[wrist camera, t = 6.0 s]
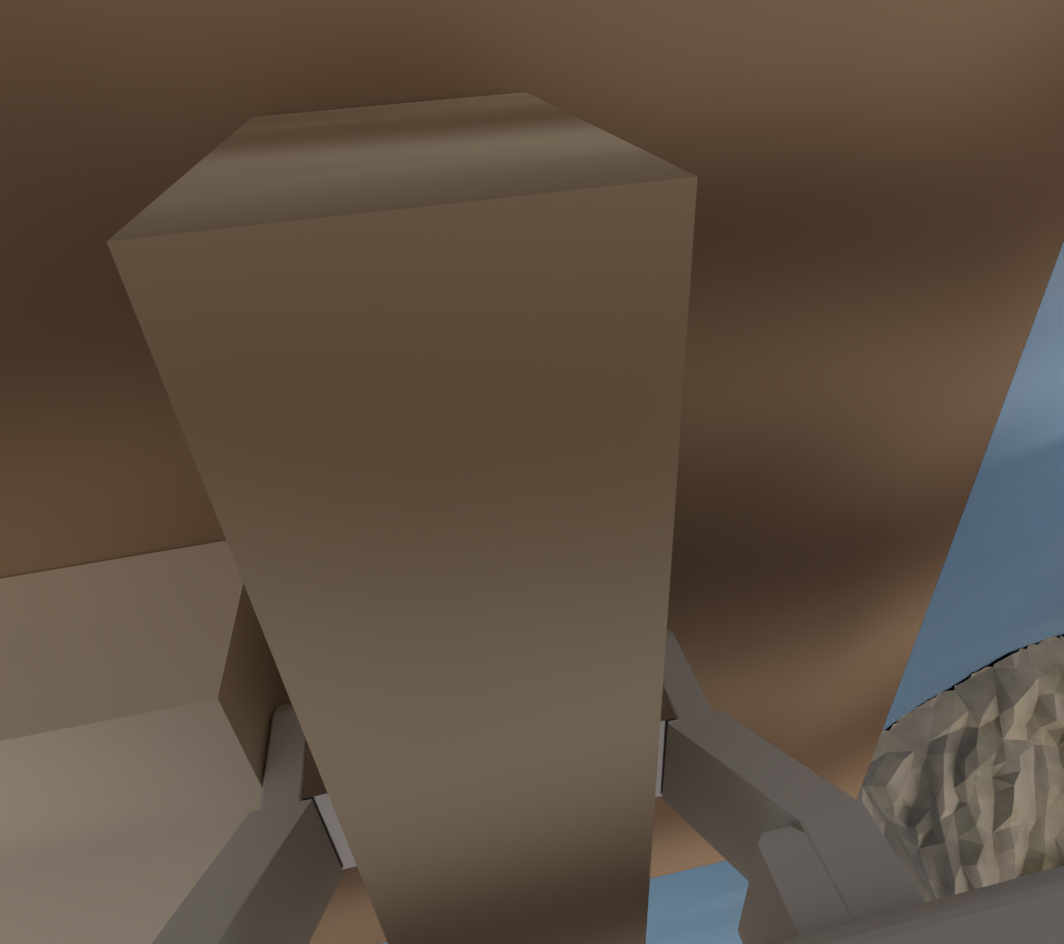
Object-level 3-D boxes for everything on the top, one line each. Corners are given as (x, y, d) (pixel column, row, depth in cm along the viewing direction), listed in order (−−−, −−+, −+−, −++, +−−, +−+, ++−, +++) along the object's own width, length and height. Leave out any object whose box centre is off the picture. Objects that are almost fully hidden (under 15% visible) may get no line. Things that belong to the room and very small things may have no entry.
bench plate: (-702, -158, 8) (-1492, -284, 4) (984, -204, 10) (1265, -304, 7) (98, 858, 20) (46, 1024, 17) (775, 714, 23) (844, 831, 19)
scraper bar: (251, 117, 7) (106, 241, 3) (525, 91, 8) (697, 175, 4) (446, 869, 16) (472, 1153, 12) (569, 840, 17) (634, 1107, 13)
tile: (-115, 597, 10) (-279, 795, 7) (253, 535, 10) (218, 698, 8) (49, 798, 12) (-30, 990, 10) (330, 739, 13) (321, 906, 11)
